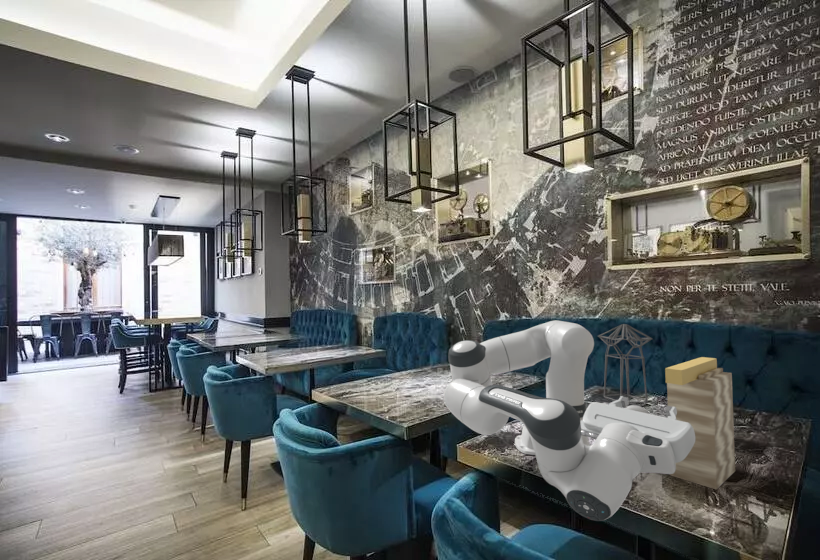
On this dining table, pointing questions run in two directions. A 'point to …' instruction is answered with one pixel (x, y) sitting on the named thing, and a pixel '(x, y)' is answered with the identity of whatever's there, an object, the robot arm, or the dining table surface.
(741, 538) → the dining table surface
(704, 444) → the plinth
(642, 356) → the geometric lantern
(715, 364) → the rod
